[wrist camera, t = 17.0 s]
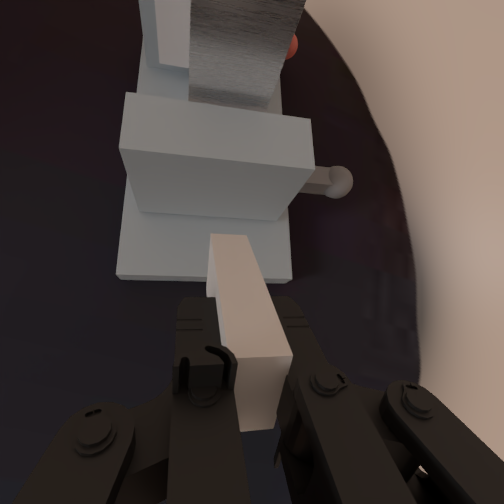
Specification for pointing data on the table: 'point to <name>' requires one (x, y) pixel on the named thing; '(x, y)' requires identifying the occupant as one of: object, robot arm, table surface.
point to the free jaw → (220, 159)
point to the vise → (177, 225)
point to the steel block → (239, 50)
